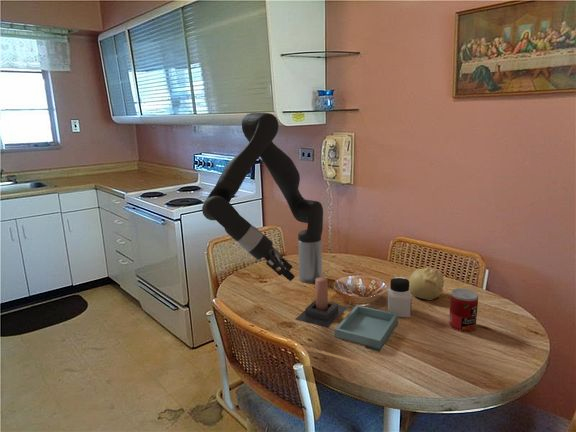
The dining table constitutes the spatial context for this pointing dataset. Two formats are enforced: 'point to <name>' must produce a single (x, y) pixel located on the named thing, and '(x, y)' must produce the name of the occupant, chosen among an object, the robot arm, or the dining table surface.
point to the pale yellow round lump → (426, 283)
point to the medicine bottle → (399, 297)
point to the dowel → (321, 293)
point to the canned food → (463, 309)
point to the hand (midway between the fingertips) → (291, 273)
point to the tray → (367, 327)
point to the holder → (321, 314)
